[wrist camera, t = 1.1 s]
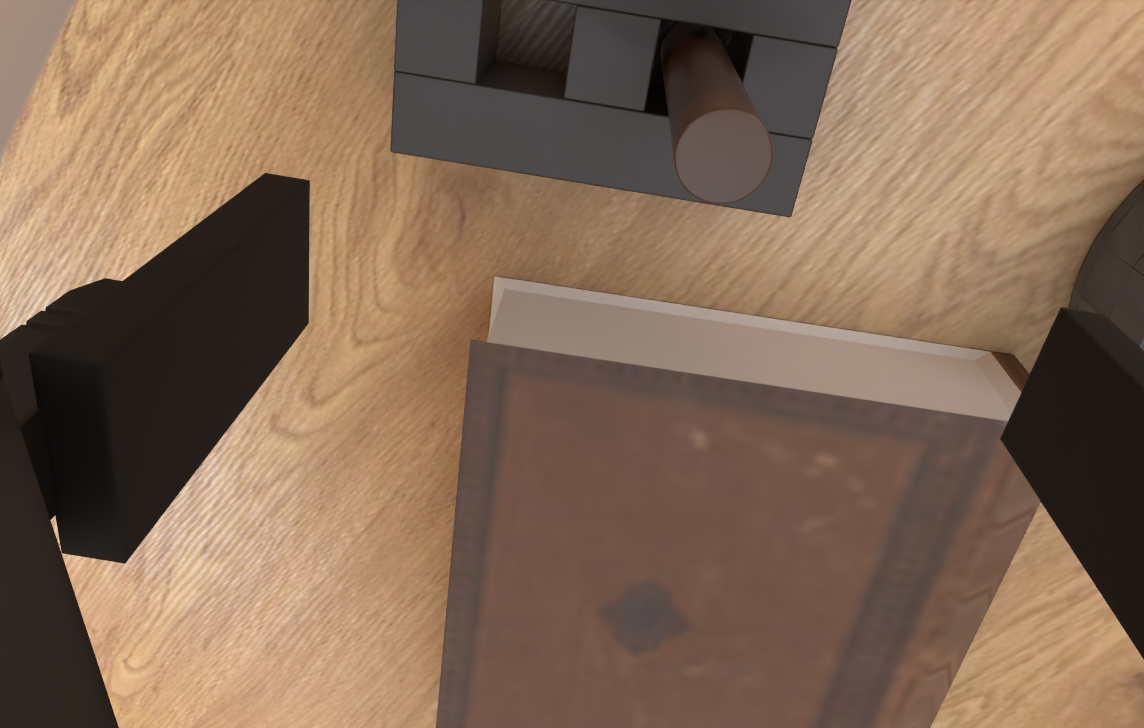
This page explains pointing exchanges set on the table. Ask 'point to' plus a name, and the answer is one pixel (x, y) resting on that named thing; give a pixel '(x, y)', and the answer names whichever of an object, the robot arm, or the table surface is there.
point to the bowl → (1117, 270)
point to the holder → (605, 90)
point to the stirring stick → (711, 118)
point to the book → (720, 518)
